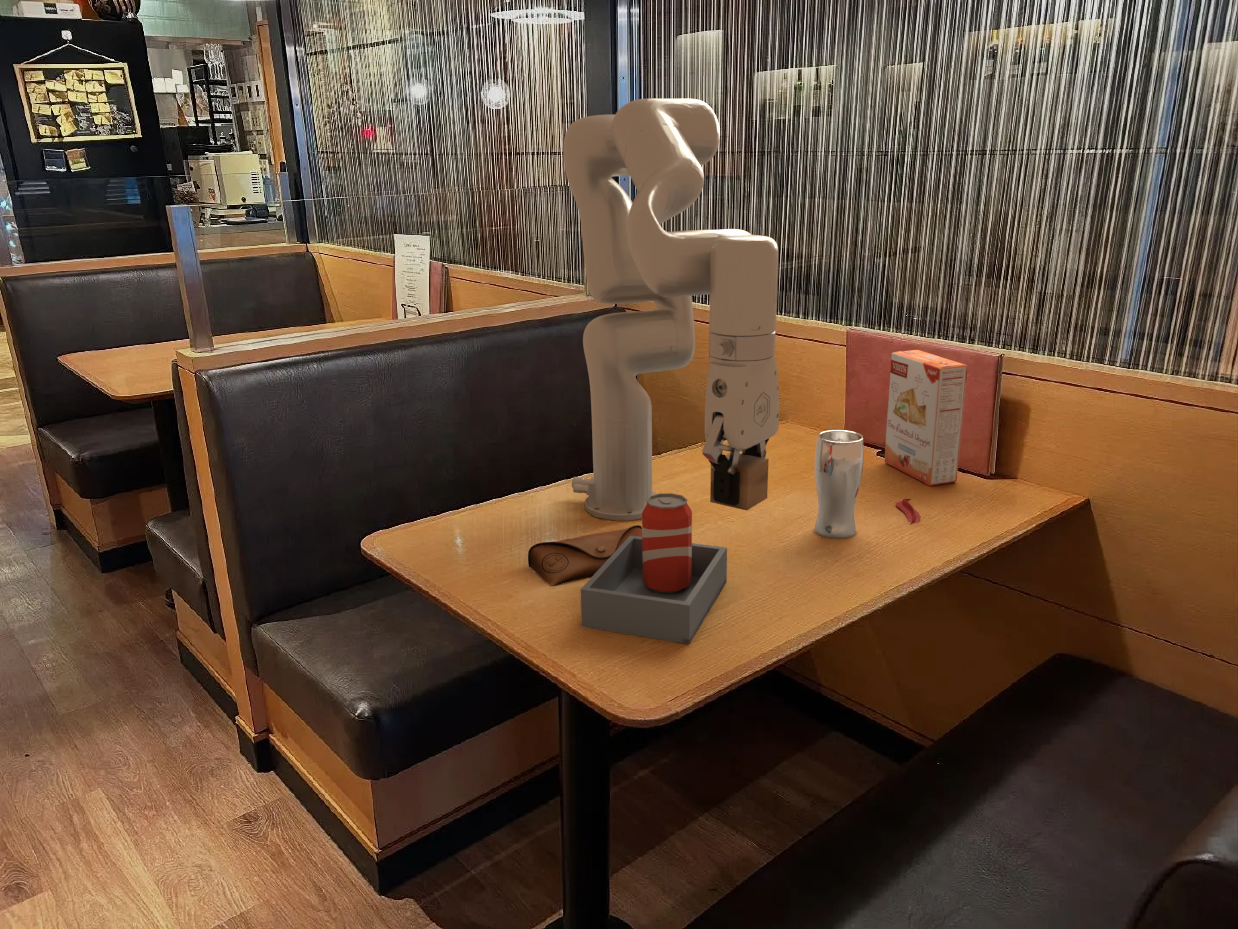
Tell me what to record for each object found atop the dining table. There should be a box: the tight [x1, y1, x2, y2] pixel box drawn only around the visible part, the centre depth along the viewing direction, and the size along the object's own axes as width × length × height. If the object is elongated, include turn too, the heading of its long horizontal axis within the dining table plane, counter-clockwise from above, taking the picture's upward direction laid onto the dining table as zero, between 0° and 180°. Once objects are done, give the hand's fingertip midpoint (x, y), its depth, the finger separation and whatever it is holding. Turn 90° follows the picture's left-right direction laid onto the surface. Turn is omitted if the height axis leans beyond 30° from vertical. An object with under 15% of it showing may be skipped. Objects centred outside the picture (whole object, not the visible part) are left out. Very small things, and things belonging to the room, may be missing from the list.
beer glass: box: [814, 429, 864, 540], centre depth 137 cm, size 7×7×15 cm
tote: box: [579, 536, 728, 645], centre depth 117 cm, size 14×18×5 cm
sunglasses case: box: [527, 524, 642, 587], centre depth 129 cm, size 18×7×7 cm
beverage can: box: [641, 492, 693, 593], centre depth 119 cm, size 6×6×12 cm
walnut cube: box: [709, 452, 769, 511], centre depth 110 cm, size 5×5×5 cm
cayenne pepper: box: [895, 498, 922, 525], centre depth 146 cm, size 12×5×2 cm, turn 155°
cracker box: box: [883, 349, 968, 487], centre depth 161 cm, size 14×6×21 cm, turn 17°
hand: (738, 494), depth 111 cm, fingers closed on walnut cube, 5 cm apart
